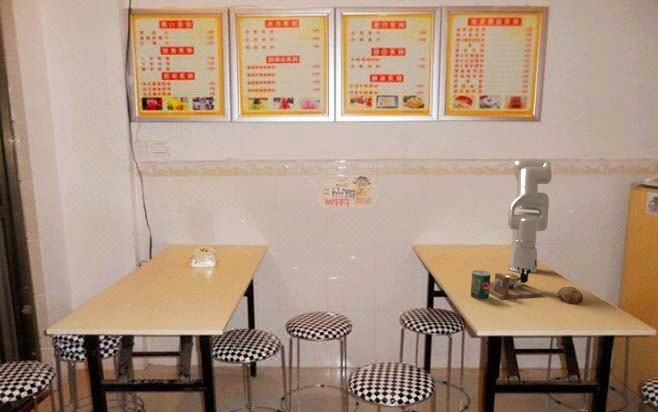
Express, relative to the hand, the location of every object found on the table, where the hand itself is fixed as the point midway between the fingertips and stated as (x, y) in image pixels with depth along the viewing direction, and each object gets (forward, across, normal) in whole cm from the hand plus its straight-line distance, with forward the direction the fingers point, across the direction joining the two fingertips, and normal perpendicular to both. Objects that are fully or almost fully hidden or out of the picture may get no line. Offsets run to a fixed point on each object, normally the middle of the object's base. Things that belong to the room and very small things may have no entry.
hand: (523, 282), depth 223 cm
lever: (+1, -2, -3) cm, 4 cm away
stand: (+3, -2, -9) cm, 10 cm away
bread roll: (+4, +21, +3) cm, 21 cm away
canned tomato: (+4, -4, -27) cm, 28 cm away
